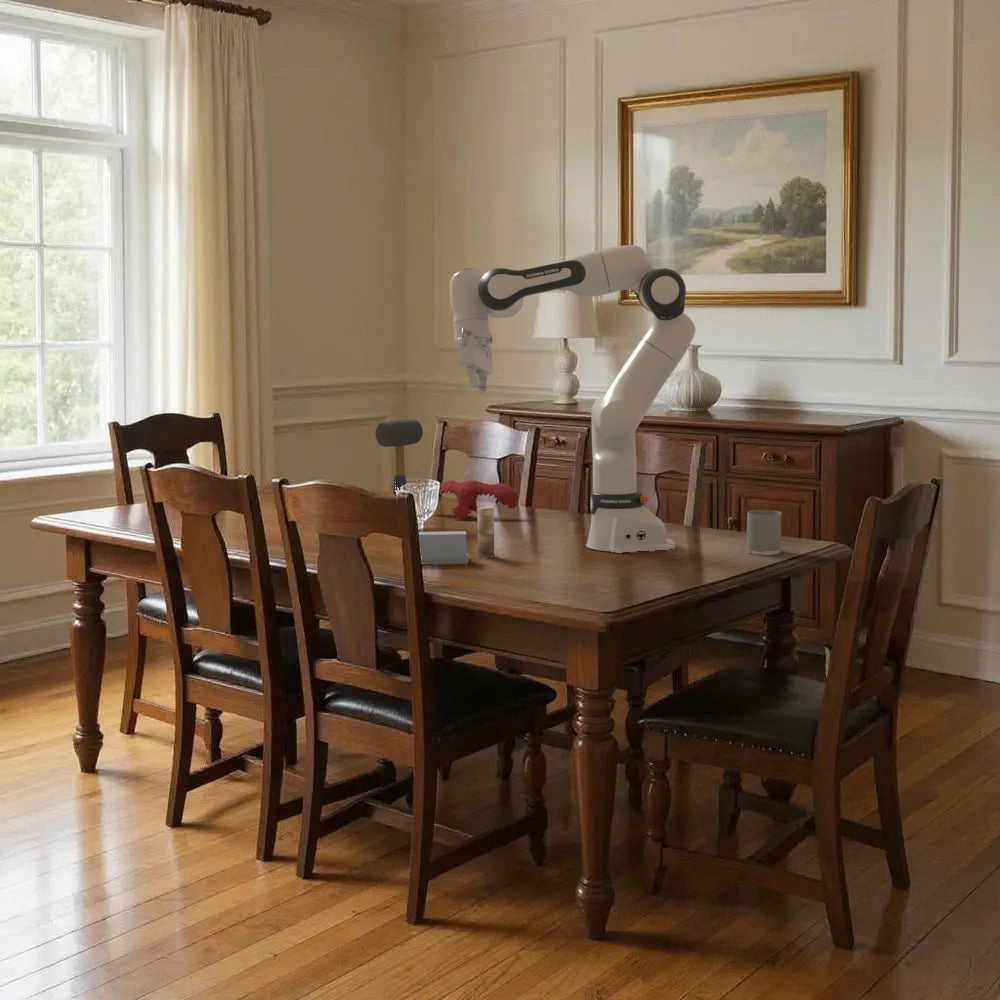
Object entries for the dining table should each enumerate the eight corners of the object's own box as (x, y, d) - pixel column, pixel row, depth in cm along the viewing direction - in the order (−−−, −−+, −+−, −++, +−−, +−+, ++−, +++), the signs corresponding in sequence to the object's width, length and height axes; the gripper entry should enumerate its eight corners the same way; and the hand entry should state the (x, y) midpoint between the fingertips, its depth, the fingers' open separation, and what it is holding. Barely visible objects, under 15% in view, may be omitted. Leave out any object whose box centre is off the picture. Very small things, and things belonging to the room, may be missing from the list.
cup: (784, 550, 348) (785, 511, 347) (776, 556, 341) (777, 516, 339) (751, 548, 352) (751, 509, 350) (742, 553, 344) (743, 513, 343)
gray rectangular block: (468, 558, 340) (467, 530, 339) (468, 563, 333) (468, 535, 332) (406, 559, 340) (406, 531, 338) (406, 564, 333) (405, 536, 332)
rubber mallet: (393, 531, 379) (391, 421, 375) (374, 528, 384) (372, 419, 380) (426, 525, 388) (424, 418, 384) (408, 522, 393) (406, 416, 389)
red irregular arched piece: (512, 535, 396) (525, 492, 404) (502, 517, 389) (516, 474, 396) (423, 529, 407) (438, 487, 415) (412, 511, 400) (427, 469, 408)
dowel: (493, 554, 345) (493, 506, 343) (494, 557, 341) (494, 509, 339) (477, 554, 345) (477, 507, 343) (478, 557, 341) (477, 509, 339)
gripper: (474, 325, 336) (481, 381, 335) (493, 338, 356) (500, 391, 355) (449, 329, 337) (456, 385, 336) (469, 342, 357) (476, 395, 356)
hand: (479, 388), depth 346 cm, fingers open, 8 cm apart
